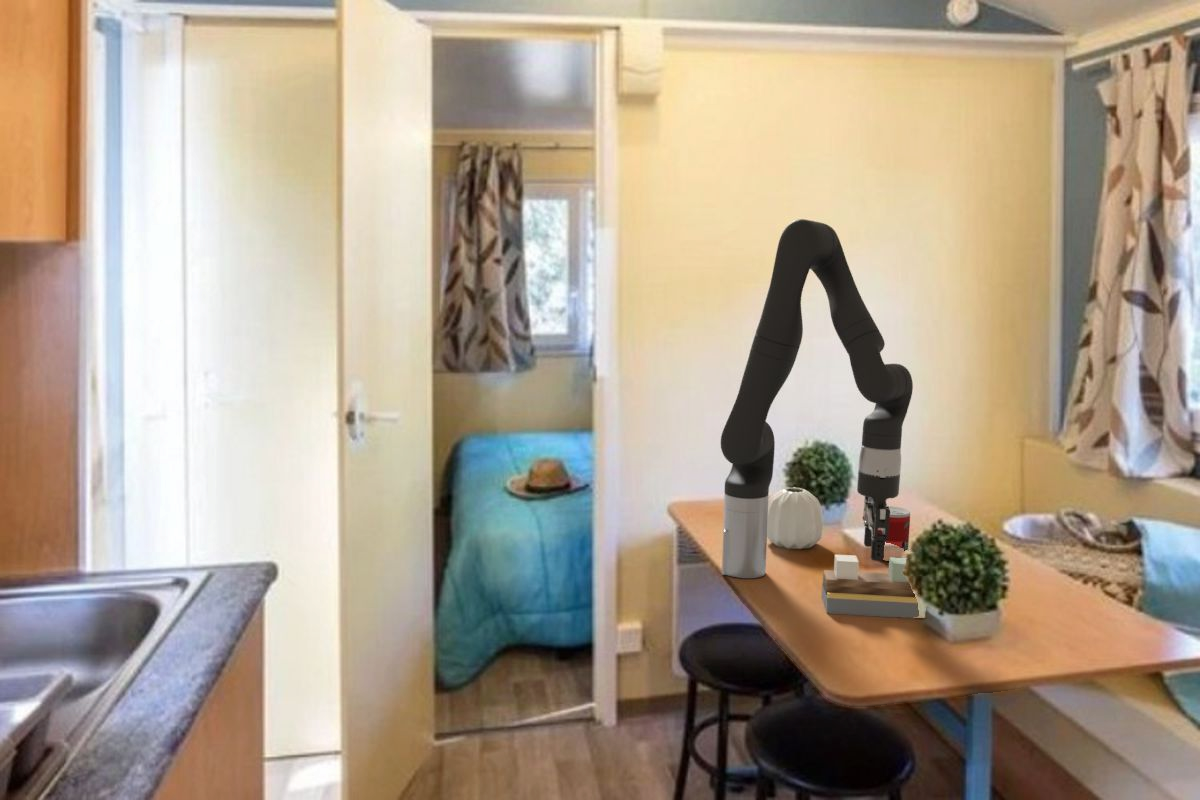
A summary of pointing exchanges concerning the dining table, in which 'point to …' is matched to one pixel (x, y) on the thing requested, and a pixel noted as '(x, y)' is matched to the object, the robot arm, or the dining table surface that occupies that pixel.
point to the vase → (794, 519)
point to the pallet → (866, 585)
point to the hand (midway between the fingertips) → (873, 553)
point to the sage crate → (897, 569)
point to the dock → (870, 605)
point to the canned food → (898, 527)
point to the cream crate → (846, 567)
